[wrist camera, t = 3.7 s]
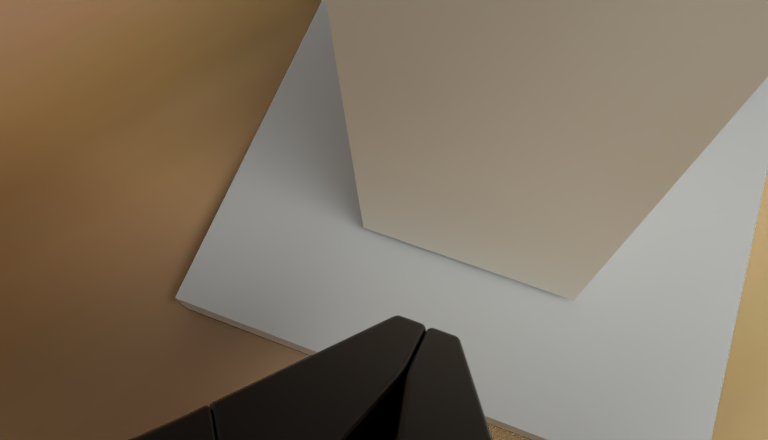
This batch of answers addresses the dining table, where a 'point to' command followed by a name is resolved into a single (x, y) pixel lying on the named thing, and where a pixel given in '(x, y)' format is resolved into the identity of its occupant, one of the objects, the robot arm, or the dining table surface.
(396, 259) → the socket
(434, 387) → the robot arm
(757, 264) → the dining table surface
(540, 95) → the beige block
